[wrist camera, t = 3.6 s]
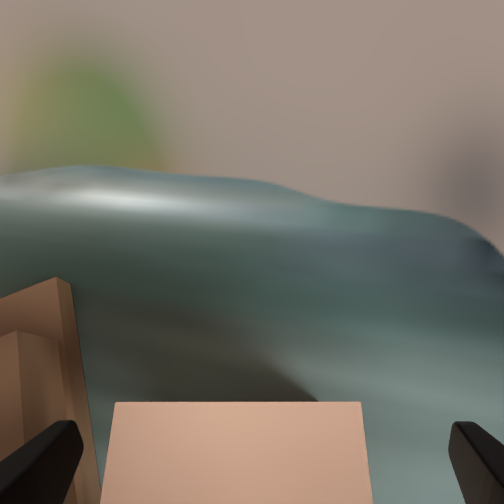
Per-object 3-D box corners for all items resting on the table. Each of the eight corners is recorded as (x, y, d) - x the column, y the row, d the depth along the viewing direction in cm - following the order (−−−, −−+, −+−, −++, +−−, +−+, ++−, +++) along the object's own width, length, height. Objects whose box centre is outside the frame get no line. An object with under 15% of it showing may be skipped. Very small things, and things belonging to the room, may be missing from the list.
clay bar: (327, 518, 13) (411, 813, 4) (223, 514, 13) (60, 770, 4) (319, 401, 14) (360, 401, 5) (226, 401, 15) (115, 402, 6)
